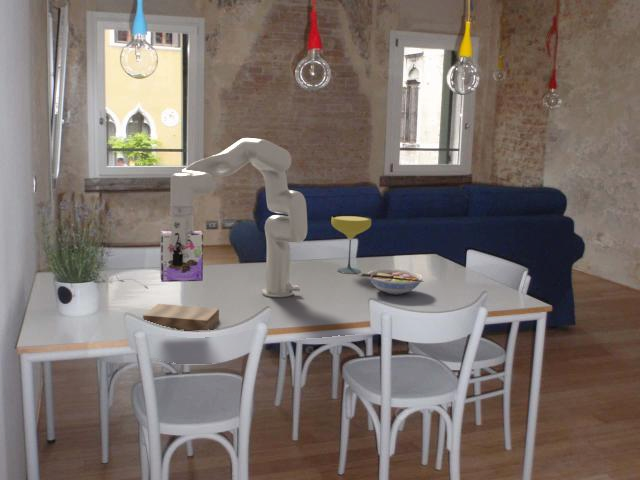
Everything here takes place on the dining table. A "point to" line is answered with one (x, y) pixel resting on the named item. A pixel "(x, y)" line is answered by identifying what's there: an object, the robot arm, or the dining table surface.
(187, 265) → the candy box
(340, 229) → the cocktail glass
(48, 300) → the dining table surface
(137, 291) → the dining table surface
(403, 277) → the ramen bowl
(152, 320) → the walnut base
